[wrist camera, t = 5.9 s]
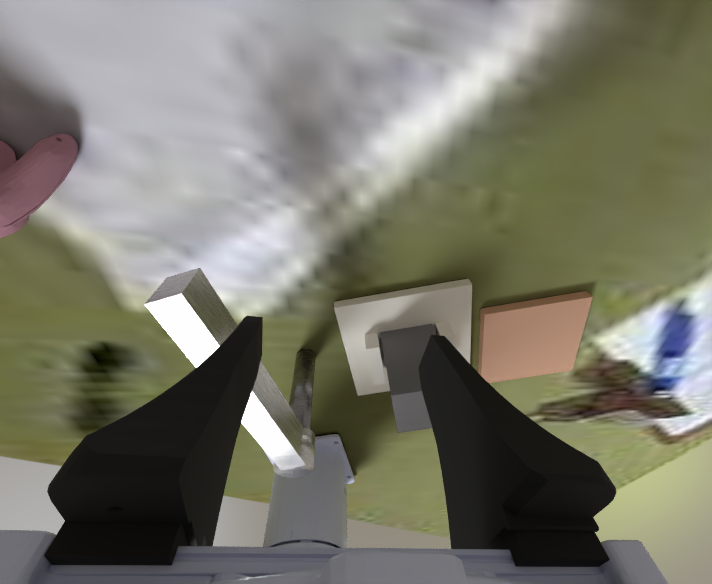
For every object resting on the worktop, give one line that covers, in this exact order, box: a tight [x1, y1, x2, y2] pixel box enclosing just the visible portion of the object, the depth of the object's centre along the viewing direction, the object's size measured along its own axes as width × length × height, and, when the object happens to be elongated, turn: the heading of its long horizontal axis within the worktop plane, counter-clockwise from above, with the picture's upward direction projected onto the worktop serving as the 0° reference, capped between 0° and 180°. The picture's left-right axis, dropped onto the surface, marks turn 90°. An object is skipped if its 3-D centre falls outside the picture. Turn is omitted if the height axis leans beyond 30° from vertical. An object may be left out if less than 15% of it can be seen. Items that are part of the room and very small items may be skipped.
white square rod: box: [144, 268, 315, 478], centre depth 17 cm, size 2×14×2 cm, turn 16°
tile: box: [478, 291, 593, 383], centre depth 27 cm, size 8×8×1 cm
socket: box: [289, 279, 472, 429], centre depth 24 cm, size 10×14×7 cm
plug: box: [380, 324, 436, 433], centre depth 24 cm, size 4×4×6 cm
